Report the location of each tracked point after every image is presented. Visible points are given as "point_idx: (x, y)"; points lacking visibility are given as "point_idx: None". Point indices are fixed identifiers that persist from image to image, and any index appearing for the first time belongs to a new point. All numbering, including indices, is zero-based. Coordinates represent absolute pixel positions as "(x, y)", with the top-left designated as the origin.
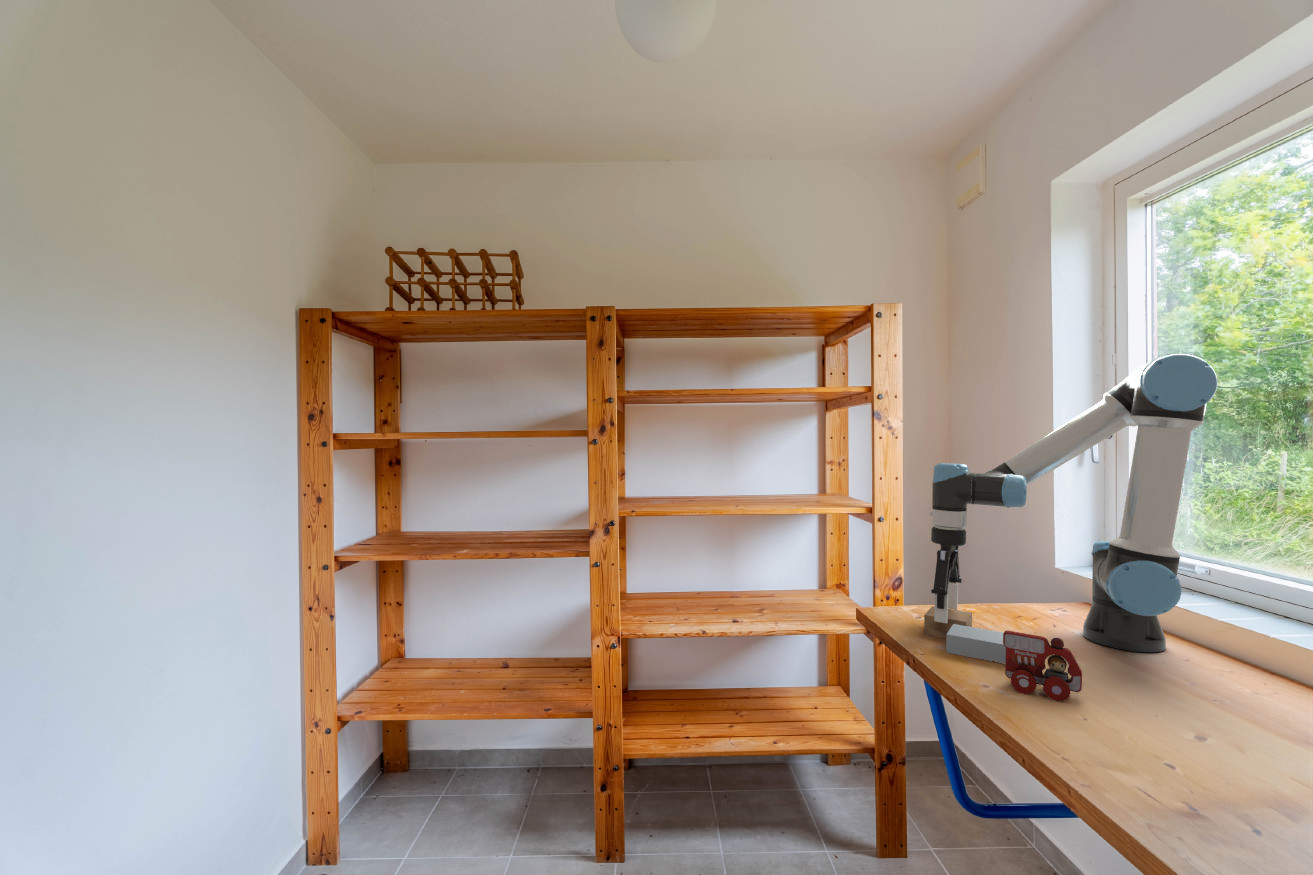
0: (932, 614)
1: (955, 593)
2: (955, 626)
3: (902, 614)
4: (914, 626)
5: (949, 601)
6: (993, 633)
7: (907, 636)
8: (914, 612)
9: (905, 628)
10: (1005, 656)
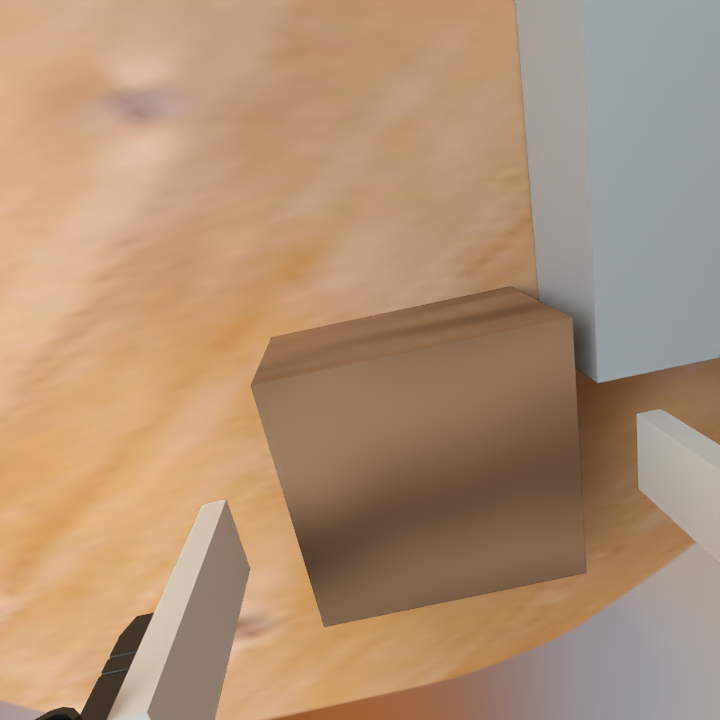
0: (537, 545)
1: (195, 616)
2: (658, 349)
3: (261, 688)
4: None
5: (230, 586)
6: (672, 57)
7: (619, 526)
8: None
9: None
10: None
